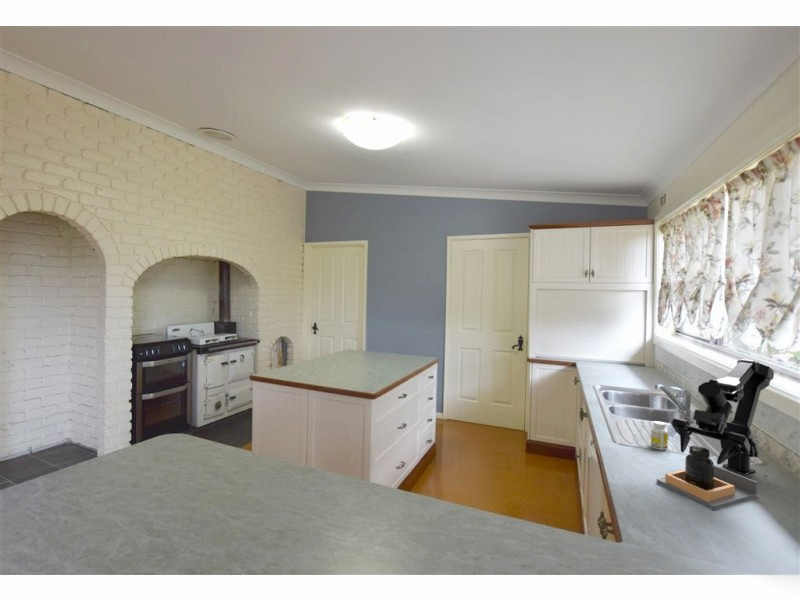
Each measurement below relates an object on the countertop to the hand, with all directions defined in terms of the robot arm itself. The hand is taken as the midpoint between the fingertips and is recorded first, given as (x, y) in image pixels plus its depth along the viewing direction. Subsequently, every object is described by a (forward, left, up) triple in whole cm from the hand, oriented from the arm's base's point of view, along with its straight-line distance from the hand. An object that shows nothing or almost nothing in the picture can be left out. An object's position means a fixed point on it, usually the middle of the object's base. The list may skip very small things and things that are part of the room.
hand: (699, 457), depth 114 cm
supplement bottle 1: (-21, -27, -11) cm, 36 cm away
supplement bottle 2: (0, 0, -10) cm, 10 cm away
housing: (-3, 0, -11) cm, 11 cm away
